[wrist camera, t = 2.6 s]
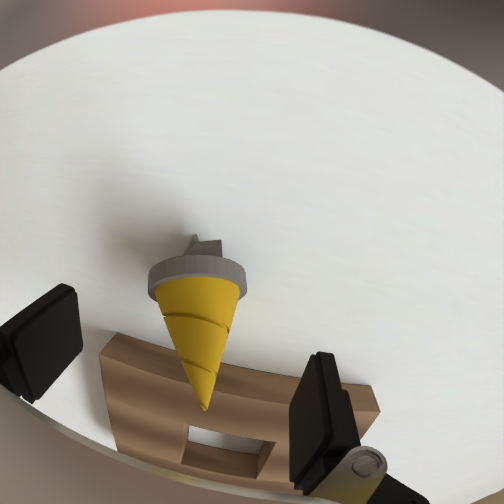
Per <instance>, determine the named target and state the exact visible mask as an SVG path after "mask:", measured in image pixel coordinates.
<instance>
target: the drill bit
mask: <svg viewBox="0 0 504 504" xmlns="http://www.w3.org/2000/svg"><path fill="white" fill-rule="evenodd" d="M246 293H247V283H246V274H245V271H244V269H243V267H242V266H241V265H239V264H238V263H236V262H234V261H232V260H229V259H226V258H222V243H221V240H213V241H203V242H199V240H198V237H197V235H195V237H194V238H193V240H192V241H191V243H190V244H189V246H188V248H187V250H186V252H185V253H184V255H183V256H180V257H174V258H171V259H167V260H164V261H162V262H160V263H158V264H157V265H155V266H154V267H153V268H152V269H151V270H150V272H149V276H148V294H149V296H150V297H151V298H152V299H153V300H154V301H156V302H158V304H159V307H160V310H161V312H162V315H164V316H166V317H164V321H165V323H166V326H167V328H168V331H169V333H170V336H171V338H172V341H173V343H174V346H175V348H176V351H177V353H178V355H179V356H180V357H183V358H181V359H180V360H181V363H182V365H183V367H184V370H185V372H186V374H187V376H188V379H189V381H190V383H191V385H192V387H193V389H194V392H195V394H196V396H197V398H198V399H199V400H200V404H201V406H202V408H203V410H204V411H207V409H208V406H209V402H210V399H211V395H212V391H213V388H214V384H215V381H216V377H217V373H218V370H219V366H220V363H221V359H222V356H223V352H224V348H225V345H226V341H227V338H228V334H229V330H230V327H231V323H232V320H233V316H234V313H235V309H236V305H237V302H238V300H239V299H241V298H242V297H244V296H245V294H246Z"/></svg>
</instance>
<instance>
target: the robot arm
mask: <svg viewBox="0 0 504 504" xmlns="http://www.w3.org/2000/svg"><path fill="white" fill-rule="evenodd" d="M82 348H83V340H82V333H81V325H80V317H79V308H78V297H77V293H76V292H75V289H74V288H73V287H71V286H69V285H66V284H63V283H61V284H59V285H57V286H56V287H55V288H53V289H52V290H50V291H49V292H47V293H46V294H44V295H43V296H41V297H40V298H39V299H37V300H36V301H34V302H33V303H32V304H30V305H29V306H27V307H26V308H25V309H23V310H22V311H20V312H19V313H18V314H16V315H15V316H14V317H12V318H11V319H10V320H8V321H7V322H6V323H4V324H3V325H2V326H0V504H430V503H429V501H428V500H427V499H426V498H425V497H424V496H422V495H420V494H419V493H417V492H415V491H414V490H412V489H410V488H409V487H407V486H405V485H404V484H402V483H401V482H399V481H398V480H396V479H394V478H393V477H391V476H390V475H388V474H387V473H386V472H387V461H386V458H385V457H384V456H383V454H382V453H381V452H379V451H378V450H377V449H374V448H372V447H368V446H361V443H360V438H359V434H358V429H357V425H356V421H355V417H354V412H353V408H352V404H351V400H350V396H349V393H348V391H347V390H345V389H342V386H341V382H340V378H339V374H338V370H337V366H336V362H335V358H334V355H333V354H332V353H326V352H317V353H316V355H313V354H312V355H311V356H310V359H309V361H308V363H307V366H306V368H305V371H304V373H303V375H302V378H301V380H300V382H299V384H298V387H297V389H296V391H295V393H294V396H293V398H292V400H291V402H290V406H289V481H290V482H293V483H294V490H303V495H298V494H289V493H281V492H274V491H266V490H258V489H252V488H245V487H239V486H234V485H228V484H223V483H219V482H214V481H209V480H205V479H200V478H196V477H192V476H188V475H185V474H181V473H178V472H174V471H171V470H167V469H164V468H161V467H158V466H155V465H152V464H149V463H146V462H143V461H141V460H138V459H135V458H133V457H130V456H127V455H125V454H122V453H120V452H117V451H115V450H113V449H110V448H108V447H106V446H104V445H101V444H99V443H97V442H95V441H93V440H91V439H89V438H87V437H85V436H83V435H81V434H79V433H77V432H75V431H73V430H71V429H69V428H67V427H66V426H64V425H62V424H60V423H58V422H57V421H55V420H53V419H52V418H50V417H48V416H47V415H45V414H43V413H42V412H40V411H39V410H37V409H35V408H34V407H32V406H31V405H29V404H28V403H26V402H25V401H23V400H22V399H20V398H19V397H20V396H21V395H22V397H23V399H25V400H26V401H28V402H29V403H31V404H33V403H34V402H35V400H38V399H40V398H41V397H42V396H43V394H44V393H45V392H46V391H47V390H48V389H49V387H50V386H51V385H52V384H53V383H54V382H55V380H56V379H57V378H58V377H59V376H60V375H61V373H62V372H63V371H64V370H65V369H66V368H67V367H68V365H69V364H70V363H71V362H72V361H73V360H74V359H75V358H76V357H77V355H78V354H79V353H80V352H81V351H82Z"/></svg>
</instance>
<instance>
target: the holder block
mask: <svg viewBox="0 0 504 504" xmlns="http://www.w3.org/2000/svg"><path fill="white" fill-rule="evenodd" d="M99 358H100V366H101V373H102V379H103V386H104V392H105V397H106V403H107V408H108V413H109V417H110V422H111V426H112V430H113V435H114V439H115V442H116V446H117V450H118V452H120V453H122V454H125V455H127V456H130V457H133V458H135V459H138V460H141V461H143V462H146V463H149V464H152V465H155V466H158V467H161V468H164V469H167V470H171V471H174V472H178V473H181V474H185V475H188V476H192V477H196V478H200V479H205V480H209V481H214V482H219V483H223V484H228V485H234V486H239V487H245V488H252V489H258V490H266V491H274V492H281V493H289V494H298V495H303V490H294V483H293V482H290V481H289V406H290V402H291V400H292V398H293V396H294V393H295V391H296V389H297V387H298V384H299V382H300V380H301V378H297V377H291V376H284V375H279V374H273V373H267V372H262V371H257V370H252V369H247V368H242V367H237V366H233V365H228V364H224V363H220V366H219V370H218V373H217V377H216V381H215V384H214V388H213V391H212V395H211V399H210V402H209V406H208V409H207V411H204V410H203V408H202V406H201V404H200V400H199V399H198V398H197V396H196V394H195V392H194V389H193V387H192V385H191V383H190V381H189V379H188V376H187V374H186V372H185V370H184V367H183V365H182V363H181V360H180V359H181V358H183V357H180V356H179V355H178V353H177V351H174V350H170V349H167V348H164V347H160V346H157V345H154V344H151V343H147V342H144V341H141V340H138V339H135V338H132V337H129V336H126V335H123V334H121V333H117V334H116V335H115V336H114V337H113V338H112V339H111V341H110V342H109V343H108V344H107V345H106V346H105V347H104V349H103V350H102V351H101V352H100V353H99ZM341 386H342V389H345V390H347V391H348V393H349V396H350V400H351V404H352V408H353V412H354V417H355V421H356V425H357V429H358V434H359V438H360V439H361V438H362V437H363V436H364V434H365V433H366V432H367V430H368V429H369V428H370V426H371V425H372V423H373V422H374V421H375V419H376V418H377V416H378V415H379V413H380V409H379V406H378V403H377V401H376V398H375V395H374V393H373V390H372V387H371V386H367V385H355V384H344V383H341ZM189 425H191V426H195V427H199V428H203V429H207V430H211V431H216V432H220V433H225V434H230V435H235V436H240V437H246V438H252V439H258V440H264V441H265V442H264V444H263V446H262V449H261V451H260V453H259V455H252V454H246V453H240V452H234V451H229V450H224V449H219V448H215V447H210V446H206V445H202V444H198V443H194V442H190V441H188V433H189Z"/></svg>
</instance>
